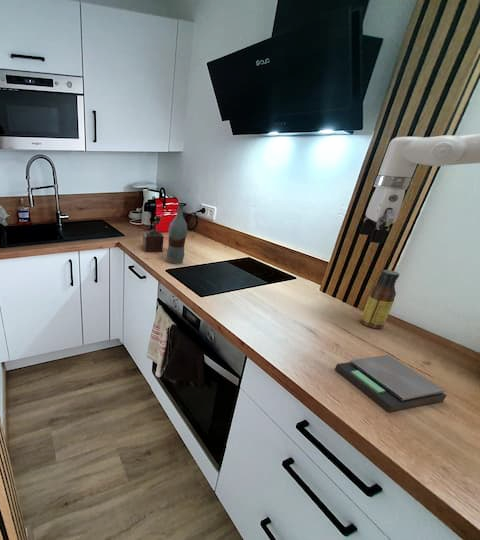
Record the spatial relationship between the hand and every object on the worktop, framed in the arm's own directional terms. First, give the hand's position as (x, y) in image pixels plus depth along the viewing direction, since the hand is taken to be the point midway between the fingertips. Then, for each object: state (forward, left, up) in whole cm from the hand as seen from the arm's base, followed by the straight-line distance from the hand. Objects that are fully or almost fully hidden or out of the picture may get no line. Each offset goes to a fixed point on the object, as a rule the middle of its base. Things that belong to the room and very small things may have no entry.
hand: (370, 238), depth 91 cm
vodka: (+38, -62, -30) cm, 79 cm away
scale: (+17, +29, -30) cm, 45 cm away
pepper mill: (+43, -85, -30) cm, 100 cm away
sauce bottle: (-8, +5, -30) cm, 32 cm away
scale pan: (+15, +29, -28) cm, 43 cm away
